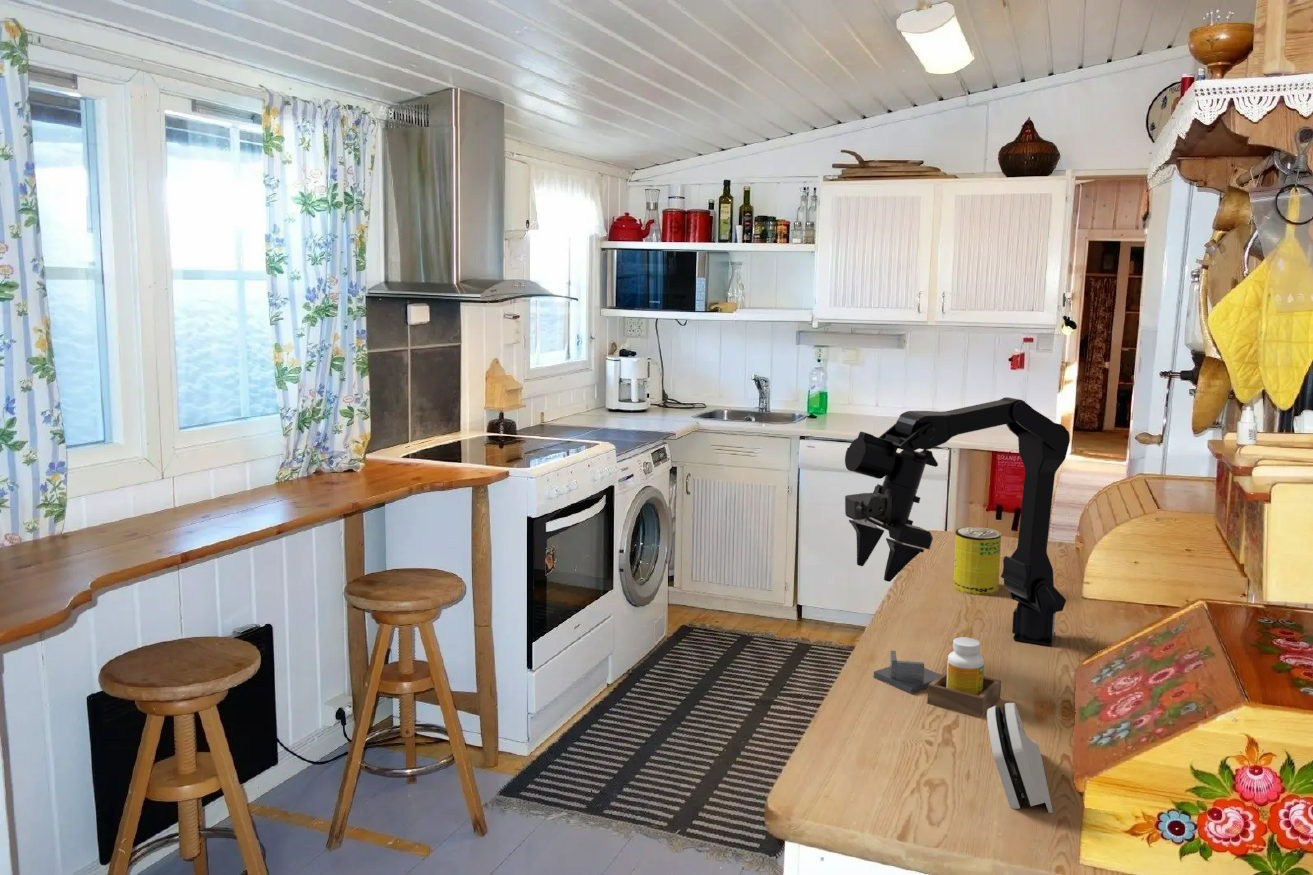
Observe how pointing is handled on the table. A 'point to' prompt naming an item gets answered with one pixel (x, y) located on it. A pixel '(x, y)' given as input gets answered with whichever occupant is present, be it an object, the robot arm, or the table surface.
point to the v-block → (906, 675)
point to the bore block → (964, 696)
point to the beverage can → (977, 560)
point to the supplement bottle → (965, 666)
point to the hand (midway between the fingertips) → (873, 573)
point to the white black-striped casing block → (1017, 758)
